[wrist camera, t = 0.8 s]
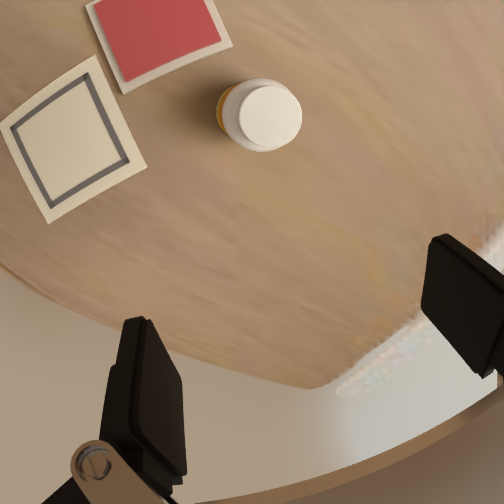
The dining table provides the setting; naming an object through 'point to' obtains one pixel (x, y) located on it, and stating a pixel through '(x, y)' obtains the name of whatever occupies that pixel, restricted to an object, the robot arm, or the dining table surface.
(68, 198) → the marked sheet
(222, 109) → the supplement bottle
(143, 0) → the ink pad
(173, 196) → the dining table surface
